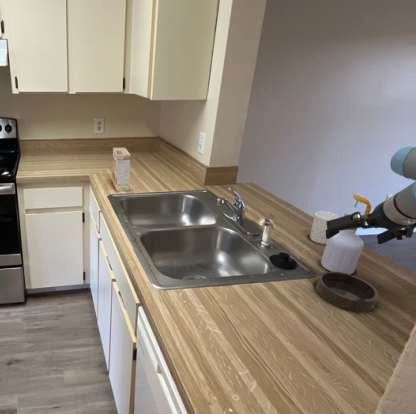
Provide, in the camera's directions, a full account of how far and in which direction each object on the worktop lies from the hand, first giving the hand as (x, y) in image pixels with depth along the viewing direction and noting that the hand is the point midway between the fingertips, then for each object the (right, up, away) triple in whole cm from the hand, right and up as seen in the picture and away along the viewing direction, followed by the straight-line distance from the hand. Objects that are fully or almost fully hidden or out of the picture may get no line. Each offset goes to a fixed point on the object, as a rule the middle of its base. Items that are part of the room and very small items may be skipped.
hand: (352, 237), depth 99 cm
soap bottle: (+1, -11, +8) cm, 13 cm away
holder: (-7, -16, -5) cm, 18 cm away
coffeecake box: (-64, +20, +80) cm, 104 cm away
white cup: (+7, -3, +24) cm, 25 cm away
